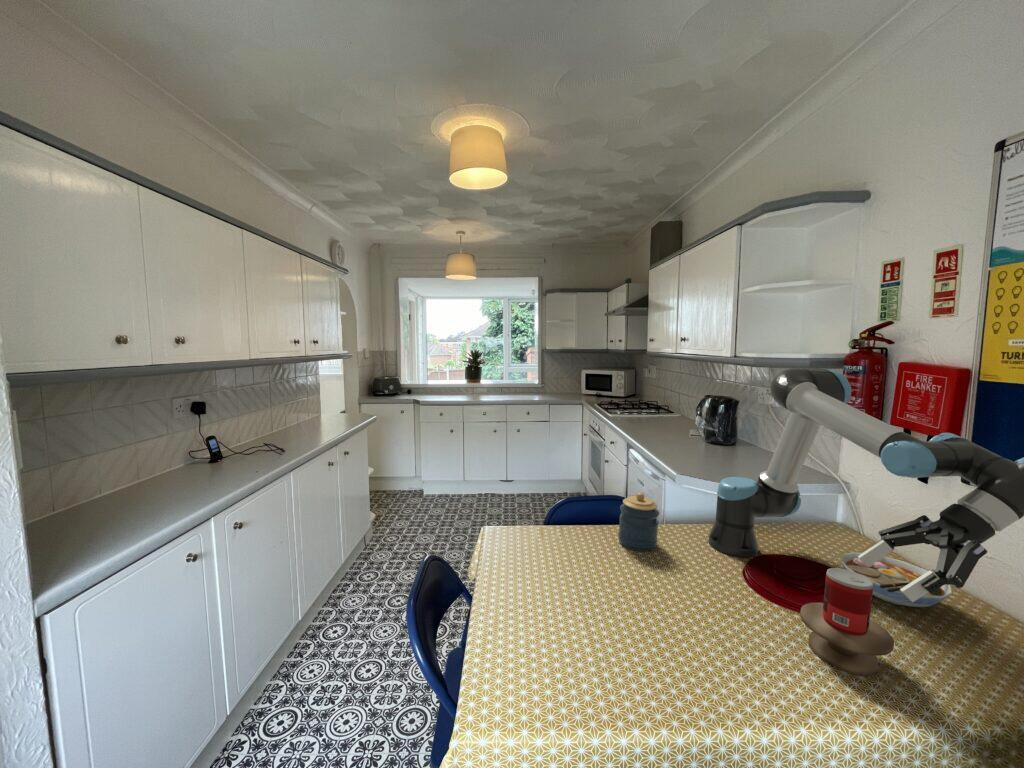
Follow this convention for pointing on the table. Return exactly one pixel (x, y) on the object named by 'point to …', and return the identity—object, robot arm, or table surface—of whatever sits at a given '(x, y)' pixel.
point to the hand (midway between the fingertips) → (882, 577)
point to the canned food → (847, 601)
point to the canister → (638, 523)
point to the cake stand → (846, 643)
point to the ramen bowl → (894, 580)
